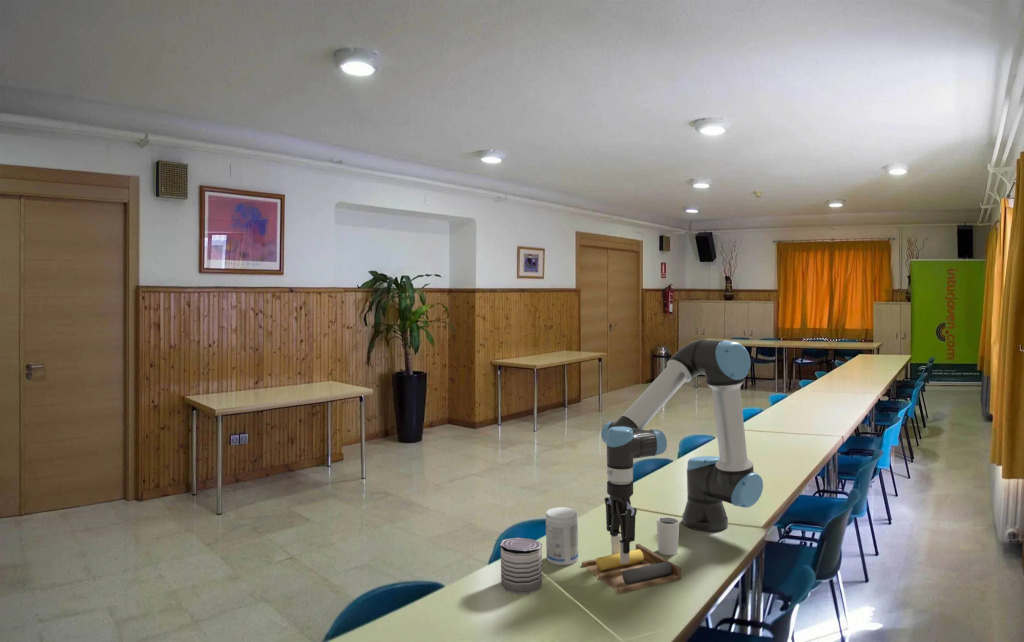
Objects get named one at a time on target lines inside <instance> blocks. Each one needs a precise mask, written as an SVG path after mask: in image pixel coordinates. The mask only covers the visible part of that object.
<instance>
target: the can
mask: <svg viewBox="0 0 1024 642" xmlns="http://www.w3.org/2000/svg"><path fill="white" fill-rule="evenodd" d="M499 545H500V572H501V573H500V576H501V577H500V583H501V584H500V585H501V587H502V589H503V590H504V591H505V592H506V593H507V592H508V593H511V594H513V595H530V594H533V593H535V592H538V591H540V589H541V587H542V585H543V555H542V554H543V553H542V551H543V550H542V549H543V548H542V545H543V543H542V542H540V541H538V540H535V539H534V538H533V539H532V538H524V537H513V538H505V539H503V540H501V542H500V543H499Z"/></svg>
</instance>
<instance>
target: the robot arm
mask: <svg viewBox="0 0 1024 642" xmlns="http://www.w3.org/2000/svg"><path fill="white" fill-rule="evenodd" d="M751 362H752V361H751V357H750V354H749V352H748V350H747V348H746V347H745V346H743V344H741V343H740V342H738V341H737V342H736V341H731V340H722V339H721V340H717V339H703V338H702V339H696V340H693V341H692V342H689V343H688V344H686V345H685V346H683V347H682V348H680V349H679V350H678V351H676V352H675V353H674V354H673V355H672V356H671V358H669V359H668V361H667V362H666V367H665V368H664V369H663V370H662V371H661V373H660V374H659V375H658V376H657V377H656V378H655V379H654V380H653V381H652V382H651V383H650V384H649V386H647V388H646V389H645V390H644V391H643V392H642V393H641V394H640V395H639V396H638V398H636V399H635V401H634V402H633V403H632V404H631V405H630V406H629V407H628V408H627V410H626V411H624V412H623V413H622V414H621V416H620V417H619V418H618V419H617V420H616V421H608V422H606V423H605V424H604V425H603V426H602V428H601V432H600V437H601V440H602V442H603V443H605V445H606V467H607V468H606V477H607V482H606V494H607V495H609V496H607V497H604V504H605V515H606V516H605V518H606V519H605V520H606V531H607V532H609V535H610V538H611V540H610V542H611V555H614V554H619V553H620V564H621V565H622V564H626V563H629V552H630V551H631V548H630V546H631V543H632V542H635V540H636V515H637V512H638V511H637V508H636V507H632V503H631V499H630V498H631V497H632V496H634V495H633V494H634V482H633V481H634V460H635V459H640V458H641V459H642V458H647V457H656V456H658V455H662V454H664V453H665V452H666V451H667V448H668V443H667V442H668V440H667V437H666V435H665V433H664V432H663V431H662V430H661V429H660V430H659V429H648V430H645V429H644V428H645V426H647V425H648V424H649V422H650V421H651V420H652V419H653V418H654V416H655V415H657V414H658V412H659V411H660V410H661V409H662V408H663V407H664V406H665V404H667V402H668V401H669V400H670V399H672V397H673V396H674V394H675V393H677V391H678V390H679V389H680V388H681V387H682V386H683V384H684V383H688V382H689V383H690V382H691V380H693V378H694V377H696V376H699V375H703V376H705V382H706V386H708V387H709V388H711V392H712V401H713V409H714V410H713V411H714V421H715V428H716V436H717V437H716V438H717V446H718V455H719V456H716V455H715V456H714V455H703V456H694V457H691V458H689V459H688V461H687V465H686V466H687V467H686V483H687V484H686V485H687V486H686V488H687V498H686V499H687V501H686V503H685V507H684V511H683V513H682V517H681V518H682V519H681V520H682V521H681V522H682V524H683V525H684V526H685V527H687V528H690V529H692V530H696V531H705V532H716V531H717V532H718V531H721V530H725V529H727V528H728V527H729V518H728V516H727V512H726V509H725V505H724V503H723V502H725V503H727V504H731V505H733V506H734V507H740V508H743V509H744V508H751V507H753V506H754V505H756V504H757V502H758V501H759V499H760V498H761V497H762V493H763V490H764V481H763V478H762V476H760V474H758V473H757V472H755V471H754V464H753V461H751V460H750V459H749V458H748V453H747V450H748V449H747V442H746V434H745V424H744V423H745V422H744V414H743V404H742V395H741V386H742V385H743V384H744V383H745V378H746V377H747V376H748V374H749V373H750V369H751V365H752V364H751Z"/></svg>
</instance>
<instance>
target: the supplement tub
mask: <svg viewBox="0 0 1024 642" xmlns="http://www.w3.org/2000/svg"><path fill="white" fill-rule="evenodd" d="M578 525H579V524H578V512H577V510H576V509H573V508H570V507H562V506H561V507H559V506H558V507H553V508H549V509H548V510H547V511H546V512H545V538H546V539H545V541H546V545H545V547H546V559H547V561H548V562H549V563H551V564H553V565H557V566H570V565H573V564H575V563H577V562H578V561H579V532H578V529H579V528H578Z"/></svg>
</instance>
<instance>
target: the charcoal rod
mask: <svg viewBox="0 0 1024 642" xmlns="http://www.w3.org/2000/svg"><path fill="white" fill-rule="evenodd" d="M669 562H670V561H669ZM669 562H663V563H658V564H653V565H649V566H644V567H640V568H635V569H630V570H626V571H623V575H622V576H623V580H624V582H625V584H627V585H629V584H633V583H637V582H642V581H646V580H651V579H655V578H659V577H664V576H668V575H671V574H672V567H671V565H670V563H669Z"/></svg>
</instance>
